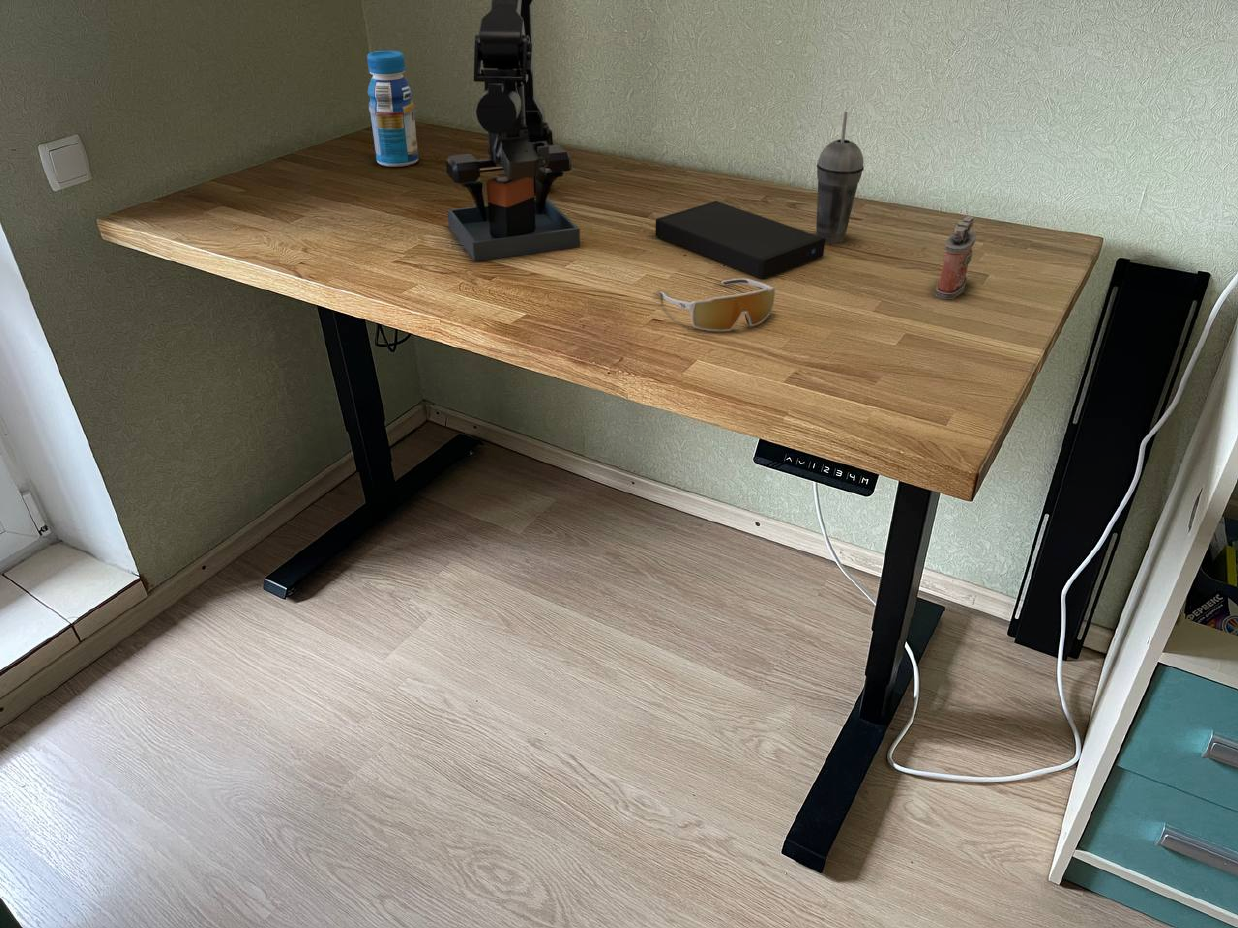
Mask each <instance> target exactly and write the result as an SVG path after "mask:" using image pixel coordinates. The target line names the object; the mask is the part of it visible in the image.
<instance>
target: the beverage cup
mask: <svg viewBox="0 0 1238 928" xmlns="http://www.w3.org/2000/svg"><path fill="white" fill-rule="evenodd" d="M847 122H848V111H844V113H843V119H842V129H841V136H840V137H841V138H840V139H836V140H833V141H831V142H830V143H828V144H827V145H826V146H825V147H824V148H823V149H822V151H821V153H820V154H819V158H818V161H817V164H816V174H817V175H816V176H817V177H816V178H817V198H816V199H817V200H816V201H817V202H816V203H817V204H816V224H815V225H816V226H815V227H816V228H815V229H816V236H819V237H822V238H825V243H830V244H837V243H842V242H844V241H845V237H846V233H847V231H848V226H849V222H850V218H851V214H852V210H853V206H854V201H855V198H856V192H857V188H858V185H859V183H860V181H861V178H862V175H863V174H862V173H863V171H864V169H865V166H864V155H863V153H862V151H861V148H860V147H859V146H858V145H857V144H856V143H855V142H853V141H851V140H850V139H846V131H847Z"/></svg>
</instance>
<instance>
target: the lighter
mask: <svg viewBox="0 0 1238 928" xmlns="http://www.w3.org/2000/svg"><path fill="white" fill-rule="evenodd" d="M974 222H975V218H974V216H971V215H967V216H966V217H965V218H964V219H963V220H958V221H957V224H956V226H955V228H954V233H952V234H951V235H950V236H949V237H948V238H947V240H946V242H945V247H944V250H945V253H944V257H943V264H942V268H941V273H940V278H939V282H938V283H937V286H936V290H935V296H936V297H938V298H941V299H946V300H952V299H955V298H956V297H957V296H959V295H960V294H962V293H963V291H964V289H965V288H966V283H967V278H968V277H967V273H968V269H969V268H968V267H969V264H970V262H971V261H972V256H973V246H975V244H976V240H977V239H976V238H977V233H976V232H975V231H972V230H971V229H972V228H973V227H974Z"/></svg>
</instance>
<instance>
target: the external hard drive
mask: <svg viewBox="0 0 1238 928" xmlns="http://www.w3.org/2000/svg"><path fill="white" fill-rule="evenodd" d="M654 228H655V230H654V231H655V232H654V233H655V237H657V238H659V239H660V240H661V239H662V240H663V241H666V242H669V243H671V244H673V245H676V246H678V247H681V248H684V249H686V250H688V251H692V252H694V253H696V254H699V255H701V256H704V257H706V258H709V259H712V260H714V261H716V262H719V263H721V264H723V265H726V266H728V267H731V268H734V269H736V270H739V271H741V272H744V273H746V274H749V275H751V276H754V277H756V278H758V279H761V280H765V279H767V278H771V277H773V276H777V275H779V274H781V273H783V272H786V271H789V270H791V269H795V268H797V267H799V266H802V265H804V264H808V263H810V262H813V261H816V260H818V259H820V258H821V259H822V258H823V257H824V254H825V246H826V242H825V238H822V237H819V236H817V234H814V233H810V232H809V231H804V230H801V229H799V228H797V227H793V226H791V225H788V224H784V223H782V222H779V221H777V220H773V219H771V218H768V217H765V216H762V215H759V214H757V213H756V214H755V213H753V212H750V211H747V210H744V209H741V208H738V207H736V206H733V205H730V204H727V203H725V202H721V201H718V200H713V201H710V202H708V203H704V204H701V205H697V206H695V207H691V208H687V209H684V210H681V211H677V212H673V213H671V214H667V215H663V216H661V217H658V218H657V217H656V219H655V227H654Z"/></svg>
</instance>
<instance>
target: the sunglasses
mask: <svg viewBox="0 0 1238 928" xmlns="http://www.w3.org/2000/svg"><path fill="white" fill-rule="evenodd" d="M739 284H740V285H741V284H743V285H744V284H746V285H750V286H752V287H757V288H762V289H758V290H753V291H748V292H743V293H736V294H731V295H722V296H715V297H714V296H713V297H710V298H709V299H700V300H693V301H692V302H691V301H685V300H680V299H676V298H673V297H671V296H668V295H667V294H666V293H665V292H663V291H660V293H659V295H660V297H661V298H663V299H664V300H665V301H666V302H668V303H672V304H674V305H676V306H677V307H679V309H681V310H688V311H690V321H691V325H692V326H693V328H696V329H699V330H703V331H708V332H730V331H732V330H733V329H734V328H735V327H736V325H737V324H738V322H739V320H740V319H741V317H742V316H744V319H745V321H746V323H747V325H749V326H750V327H755V326H757V325H759V324H762V323H763V322H764V321H765V320H767V318H769V316H770V315H771V312H772V309H773V307H774V302H775V296H776V289H775V287H774V286H770V285H768V284H766V283H763V282H760V281H756V280H753V279H751V278H733V279H727V280H722V281H721V285H723V286H728V285H739Z"/></svg>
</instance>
